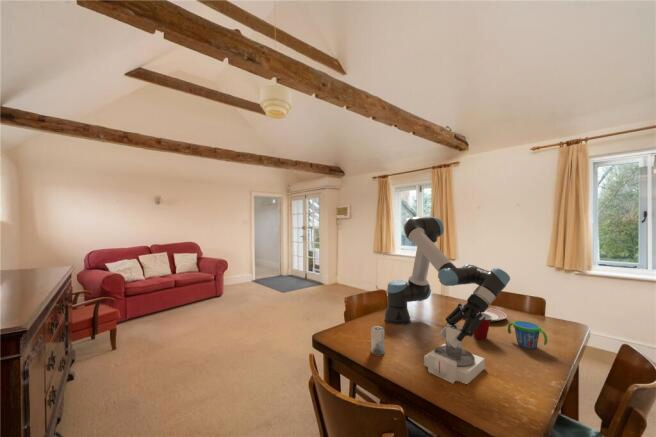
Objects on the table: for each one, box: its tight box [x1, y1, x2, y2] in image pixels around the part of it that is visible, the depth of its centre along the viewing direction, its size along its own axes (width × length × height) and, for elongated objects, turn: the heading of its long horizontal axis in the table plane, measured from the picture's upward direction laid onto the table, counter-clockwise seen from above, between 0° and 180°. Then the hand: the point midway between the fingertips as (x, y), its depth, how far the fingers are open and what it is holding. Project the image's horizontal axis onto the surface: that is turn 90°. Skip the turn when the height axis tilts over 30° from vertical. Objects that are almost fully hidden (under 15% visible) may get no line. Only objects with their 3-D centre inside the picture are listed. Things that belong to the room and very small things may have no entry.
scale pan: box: [434, 345, 475, 367], centre depth 108 cm, size 15×15×1 cm
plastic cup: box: [472, 312, 492, 341], centre depth 135 cm, size 11×11×12 cm
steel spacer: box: [370, 325, 385, 356], centre depth 120 cm, size 6×6×11 cm
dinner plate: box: [482, 307, 507, 323], centre depth 165 cm, size 27×27×3 cm
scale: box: [423, 343, 486, 385], centre depth 107 cm, size 17×21×7 cm
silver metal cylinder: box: [445, 324, 463, 358], centre depth 108 cm, size 6×6×11 cm
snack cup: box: [507, 320, 548, 350], centre depth 126 cm, size 16×10×10 cm
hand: (446, 341), depth 108 cm, fingers open, 7 cm apart
